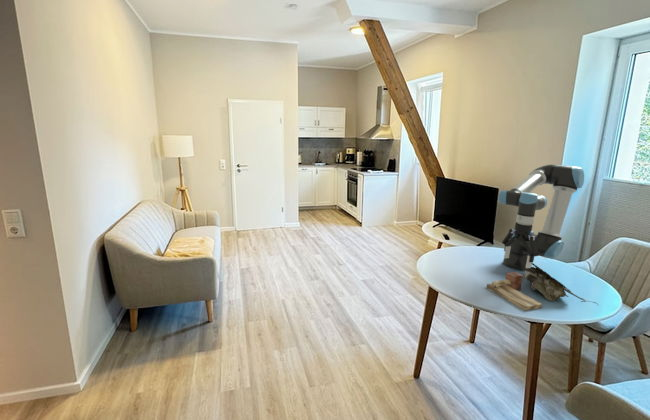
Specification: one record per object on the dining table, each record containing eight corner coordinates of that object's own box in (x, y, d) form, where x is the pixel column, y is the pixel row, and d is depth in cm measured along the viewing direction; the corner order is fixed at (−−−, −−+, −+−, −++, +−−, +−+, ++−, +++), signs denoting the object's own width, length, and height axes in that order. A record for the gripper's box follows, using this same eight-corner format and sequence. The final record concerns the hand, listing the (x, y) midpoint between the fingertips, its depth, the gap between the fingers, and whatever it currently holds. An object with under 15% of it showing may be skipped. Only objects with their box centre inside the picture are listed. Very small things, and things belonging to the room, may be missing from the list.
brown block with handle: (513, 285, 182) (515, 271, 180) (520, 289, 177) (523, 275, 175) (488, 288, 176) (490, 274, 175) (495, 293, 172) (498, 278, 170)
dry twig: (545, 284, 186) (545, 281, 185) (562, 284, 186) (563, 281, 186) (580, 306, 162) (581, 304, 162) (600, 306, 163) (601, 303, 163)
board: (501, 285, 181) (501, 281, 180) (541, 307, 159) (542, 303, 158) (486, 287, 178) (486, 284, 177) (525, 310, 156) (526, 306, 155)
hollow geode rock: (526, 286, 192) (510, 267, 191) (546, 273, 189) (529, 253, 188) (553, 310, 164) (534, 288, 163) (577, 295, 162) (558, 272, 161)
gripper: (498, 217, 180) (492, 254, 185) (540, 230, 157) (532, 273, 162) (509, 216, 183) (503, 253, 187) (552, 230, 160) (544, 271, 164)
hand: (516, 262), depth 175 cm, fingers open, 13 cm apart
